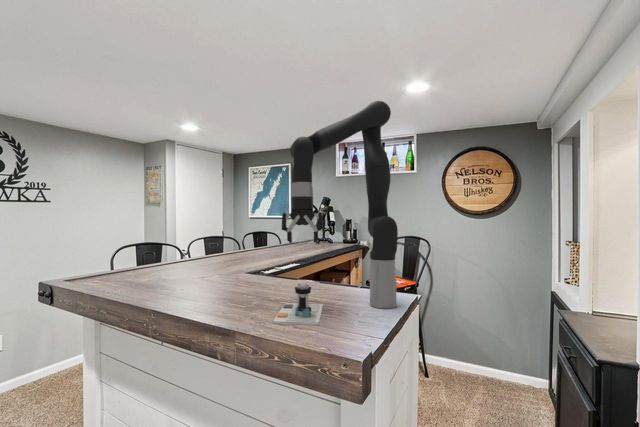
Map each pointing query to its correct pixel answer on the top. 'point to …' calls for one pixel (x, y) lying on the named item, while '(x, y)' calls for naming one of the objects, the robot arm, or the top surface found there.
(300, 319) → the board
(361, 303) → the top surface
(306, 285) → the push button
